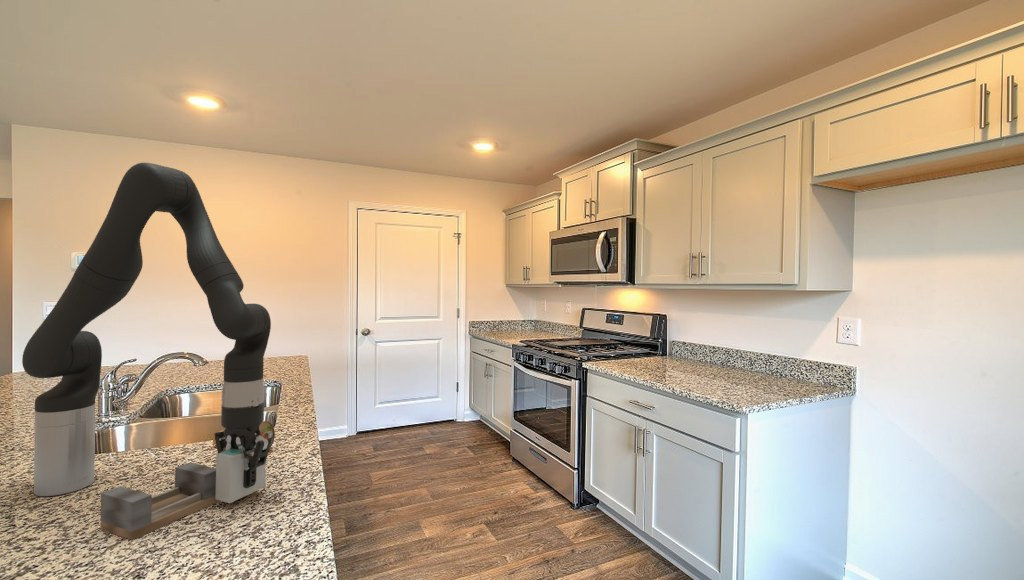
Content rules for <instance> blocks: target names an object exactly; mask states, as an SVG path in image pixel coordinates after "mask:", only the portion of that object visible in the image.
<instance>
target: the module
mask: <svg viewBox="0 0 1024 580" xmlns="http://www.w3.org/2000/svg"><path fill="white" fill-rule="evenodd" d="M253 451H254V449H252V450H250V451H247V452H246V453H247V454H248V453H250V452H253ZM241 454H242V453H240V452H239V450H237V449H233V448H232V449H228V450H225V451H222V452H221V453H218V452H217V453H216V455H215V456H216V458H215V460H216V461H215V464H216V465H215V468H216V498H215V499H216V500H219V502H220V501H221V502H224V503H228V504H231V503H233V502H235V501H238V500H240V499H242V498H245V497H246V496H248V495H251V494H253V493H255V492H257V491H259V490H261V489H263V488H265V487H266V477H267V476H266V471H267V469H266V467H267V461H266V462H265V464H264V465H261V466H259V467H257V469H256V483H255V485H253V486H251V487H249V488H244V487H243V482H244V470H245V469H244V464H243V462H244V460H243V459H242V458H241ZM259 460H260V458H259ZM251 461H252V456H251V457H249V462H250V463H251Z"/></svg>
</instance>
